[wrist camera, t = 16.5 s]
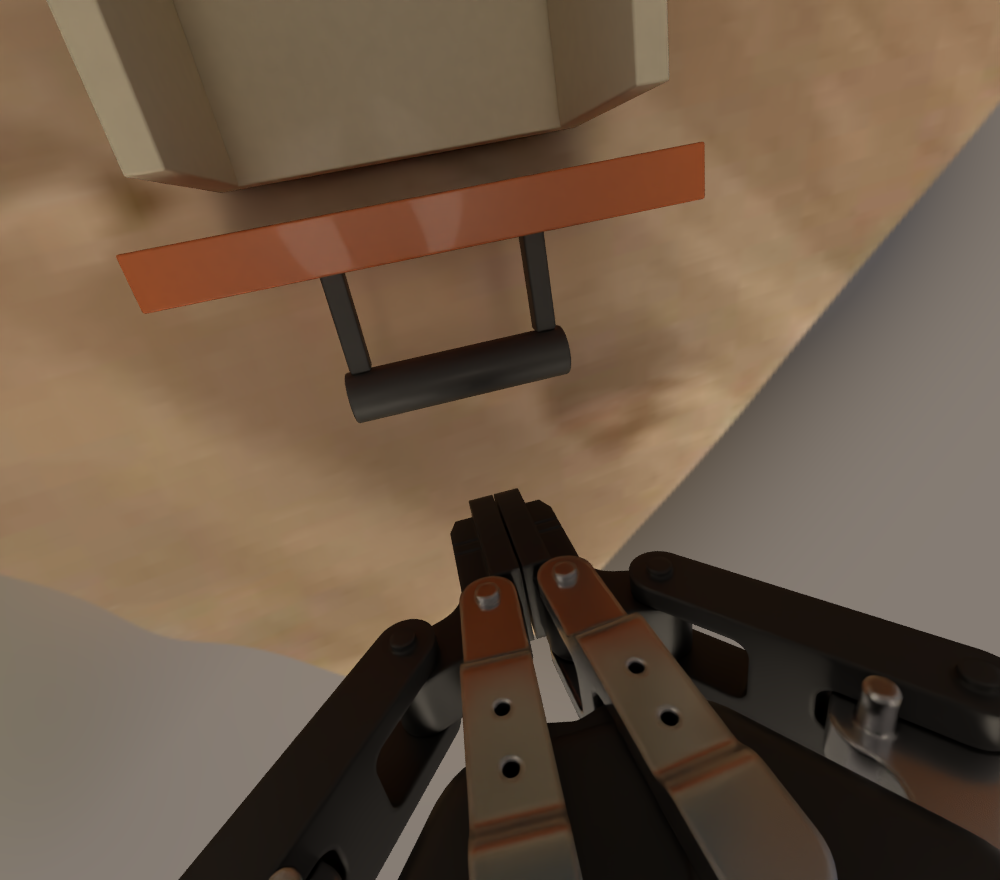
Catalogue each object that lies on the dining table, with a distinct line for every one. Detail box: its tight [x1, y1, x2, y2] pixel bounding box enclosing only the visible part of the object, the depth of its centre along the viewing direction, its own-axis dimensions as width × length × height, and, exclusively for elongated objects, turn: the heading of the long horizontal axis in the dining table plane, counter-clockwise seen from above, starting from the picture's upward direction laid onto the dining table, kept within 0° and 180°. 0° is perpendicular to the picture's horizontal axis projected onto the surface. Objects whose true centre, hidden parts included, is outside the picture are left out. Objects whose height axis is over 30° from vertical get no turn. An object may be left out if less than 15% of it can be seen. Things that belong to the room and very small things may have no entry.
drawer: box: [46, 0, 705, 423], centre depth 12 cm, size 18×13×7 cm
